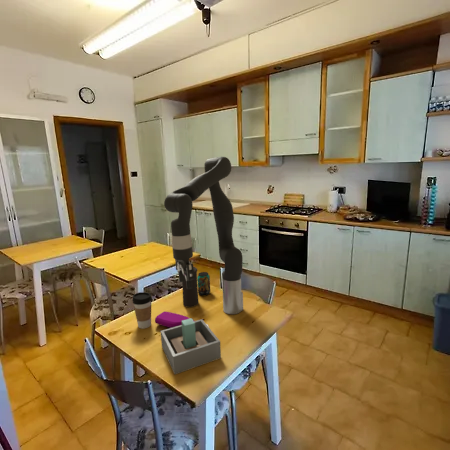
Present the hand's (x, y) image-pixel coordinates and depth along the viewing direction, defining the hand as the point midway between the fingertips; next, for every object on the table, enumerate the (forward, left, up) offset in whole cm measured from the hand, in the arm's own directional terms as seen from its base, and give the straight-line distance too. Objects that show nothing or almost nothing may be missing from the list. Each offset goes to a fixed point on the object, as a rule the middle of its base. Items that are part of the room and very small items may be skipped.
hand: (185, 285), depth 111 cm
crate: (+2, +6, -25) cm, 26 cm away
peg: (+2, +6, -24) cm, 25 cm away
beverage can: (-23, -40, -26) cm, 53 cm away
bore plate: (+2, +6, -25) cm, 26 cm away
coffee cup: (+14, -23, -26) cm, 37 cm away
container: (-12, -32, -26) cm, 43 cm away
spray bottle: (-1, -13, -25) cm, 29 cm away
